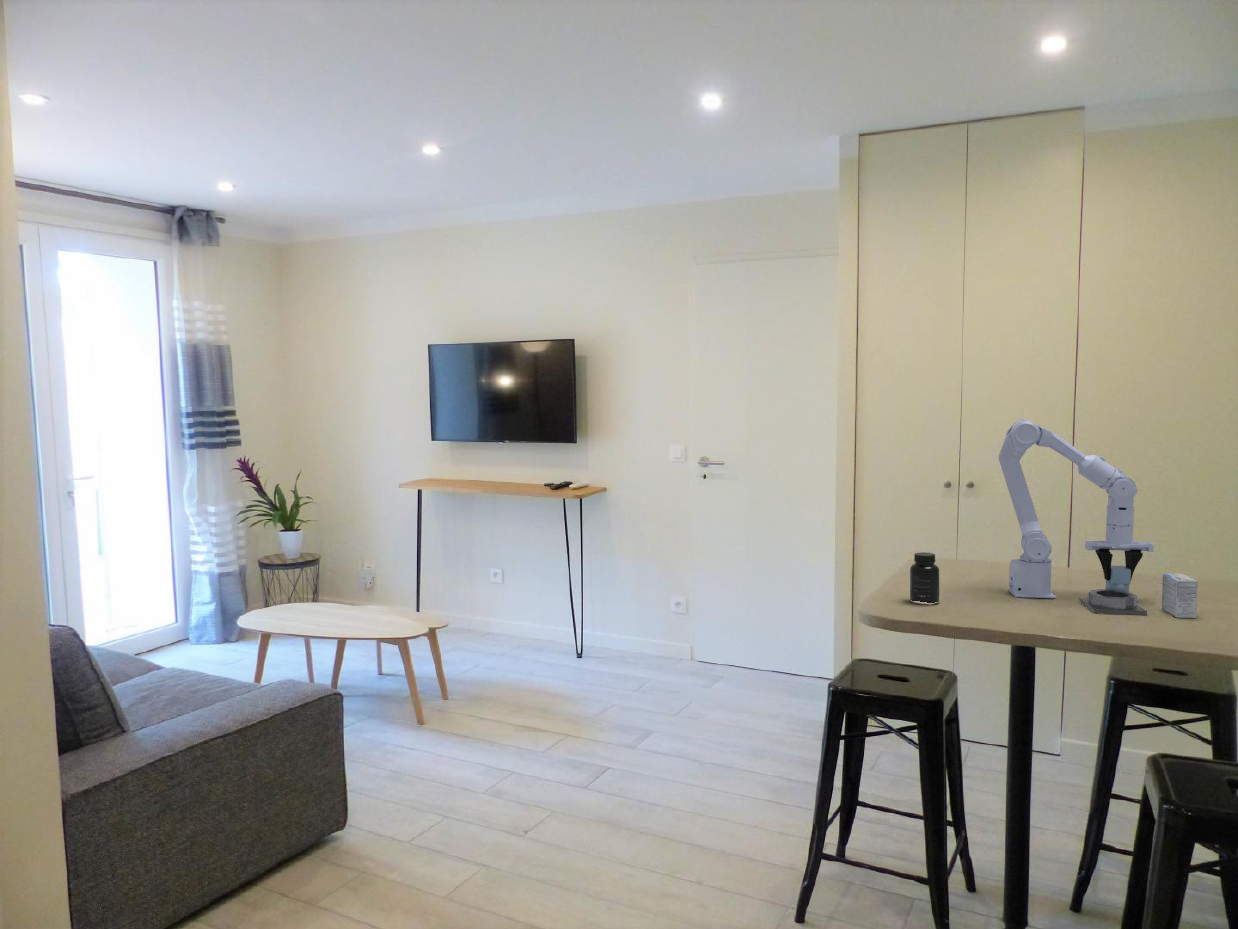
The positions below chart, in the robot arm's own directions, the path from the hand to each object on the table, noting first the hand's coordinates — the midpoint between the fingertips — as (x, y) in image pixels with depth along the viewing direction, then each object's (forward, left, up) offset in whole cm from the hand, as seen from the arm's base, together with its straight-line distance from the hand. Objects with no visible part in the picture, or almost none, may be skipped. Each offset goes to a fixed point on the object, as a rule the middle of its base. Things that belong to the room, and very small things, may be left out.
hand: (1117, 579), depth 212 cm
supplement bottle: (-46, -9, -5) cm, 47 cm away
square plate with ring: (-4, -9, -5) cm, 11 cm away
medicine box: (+9, -12, -5) cm, 16 cm away
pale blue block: (0, 0, -3) cm, 3 cm away
